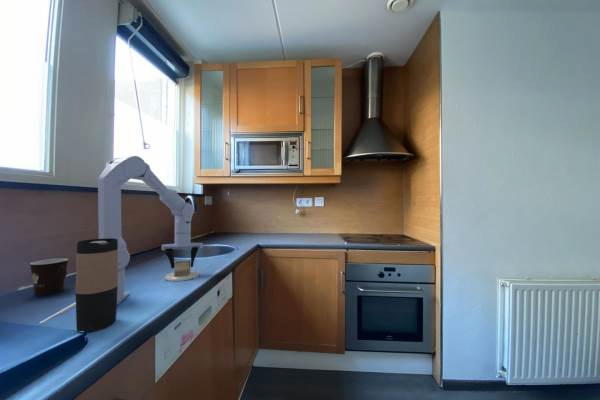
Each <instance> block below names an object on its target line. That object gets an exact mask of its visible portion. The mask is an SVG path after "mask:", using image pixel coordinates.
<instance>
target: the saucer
mask: <svg viewBox="0 0 600 400" xmlns="http://www.w3.org/2000/svg"><path fill="white" fill-rule="evenodd" d="M198 275H200V272H199V271H197V270H192V269H190V274H189V276H179V277H174V272H170V273H168V274H166V275H165V276H164V280H165V281H167V282H185V281H184V280H186V281H190V280H193V279H192V278H194V279H196V278H198V277H199V276H198ZM197 276H198V277H197ZM195 277H196V278H195ZM189 279H190V280H189Z"/></svg>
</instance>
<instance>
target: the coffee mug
mask: <svg viewBox="0 0 600 400" xmlns="http://www.w3.org/2000/svg"><path fill="white" fill-rule="evenodd" d="M68 261H69V258H62V257H60V258H51V259H43V260H38V261H33V262H30V263H29V265H30V273H31V277H32V285H33V292H34V295H35V296H37V297H38V296H49V295H53V294H57V293H61V292H62V291H64V285H65V281H66V280H65V279H66V277H67V275H68V272H67V271H68V270H67V267H68Z"/></svg>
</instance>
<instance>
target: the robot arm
mask: <svg viewBox="0 0 600 400" xmlns="http://www.w3.org/2000/svg"><path fill="white" fill-rule="evenodd" d="M130 180H138V181H141V182H143V183H144V184H146V185H147V186H148V187H150V188H151V189H152V190H153V191H154V192H156V193H157V194H158V195H159V200H160V202H162V203H163V204H164V205H165V206H167V207H168V208H169V209H170V213H171V215H172V216H174V243H167V244H165V243H164V244H161V251H165V255H166V257H167V259H168V261H169V265H170V267H171V269H173V270H174V264H175V250H184V249H189V250H190V268H193V267H194V263H195V259H196V255H197V253H198V251H199V250H200V249H203V246H204V245H203V242H191V237H192V235H191V234H192V233H191V232H192V231H191V230H192V229H191V228H192V227H191V226H192V224H191V223H192V219H193V215H194V214H195V209H194V207H193V205H192V204H191V203H189V202H187V201H185V199H184V198H183V197H181V196H180V195H179V194H178V191H177V190H176V189H173V188H168V187H167V186H166V185H165V184H163V183H164V182H162V181H161V180H160V178H159V177H158V176H157V175H156V174H155V173H154V172H153V171H152V169H151V167H150V165H149V164H148V163H147V162H146V161H145V160H144V159H143V158H142V157H141V156H137V155H131V156H127V157H126V156H125V157H117V158H114V159H111V160H110V161H108V162H106V164H105V168H104V169H103V170H102V172H101V173H100V175H99V176H98V178H97V198H98V199H97V206H98V207H97V208H98V209H97V211H98V213H97V214H98V215H97V216H98V219H97V221H98V239H104V238H115V239H118V290H117V306H118V305H119V304H120V303H121V302H122V301H123V300H124V299H126V297H128V296H129V295H130V291H126V292H125V283H126V282H125V280H126V279H125V278H126V276H125V270H126V267H127V266H128V264H129V263H130V259H131V255H130V252H129V250H128V249H127V248H128V247H127V243H126V241H125V240H124V239H123V237H122V236H123V235H122V234H123V233H122V232H123V231H122V186H123V185H125V183H127V182H129V181H130Z"/></svg>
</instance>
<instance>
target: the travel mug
mask: <svg viewBox="0 0 600 400" xmlns="http://www.w3.org/2000/svg"><path fill="white" fill-rule="evenodd" d="M75 263H76V266H75V302H76V306H75V320H76V321H75V322H76V331H77V332H78V331H84V332H86V333H85V334H87V333H95V332H98V331H100V330H102V331H103V330H104V329H107V328H109V327H111V326H112V325H113V324H115V323H116V319H117V309H118V308H117V307H118V305H117V290H118V239H115V238H104V239H99V238H92V239H85V240H80V241H77V242H76V262H75Z"/></svg>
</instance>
